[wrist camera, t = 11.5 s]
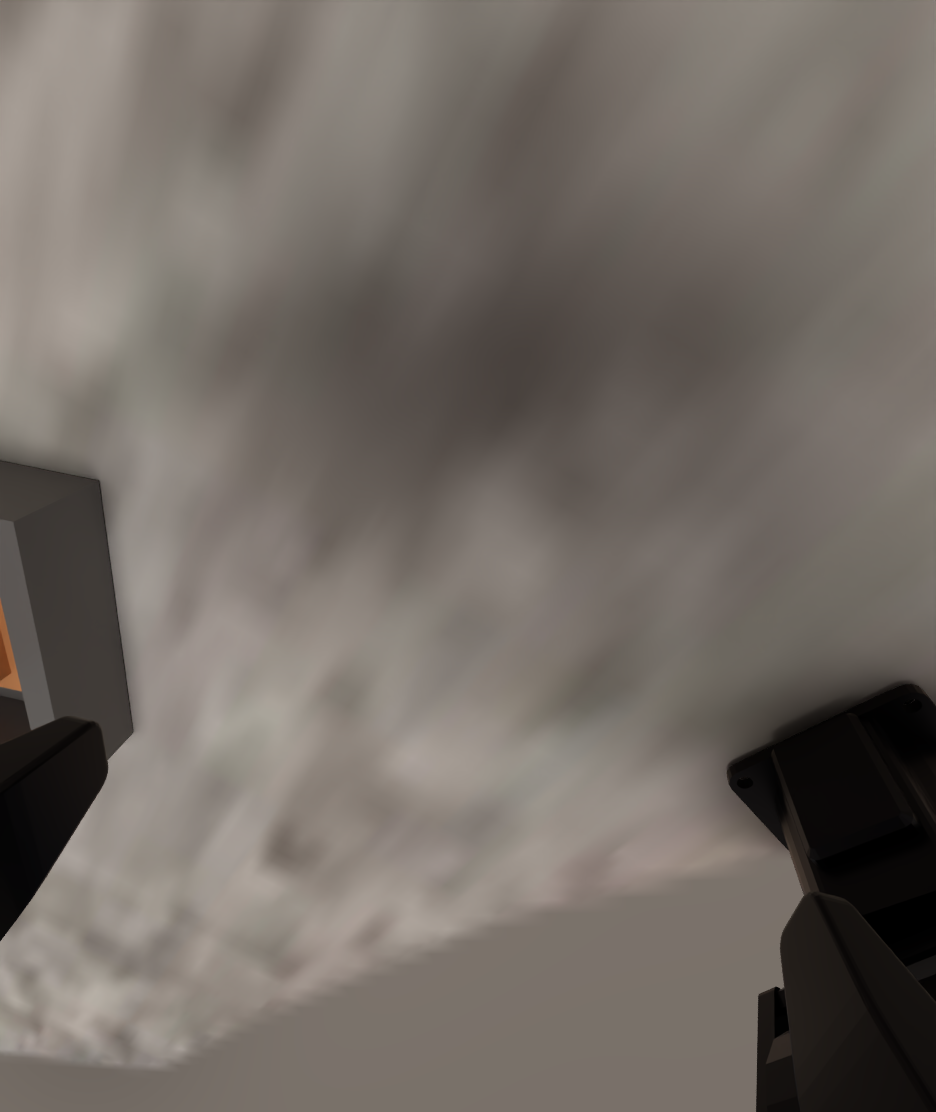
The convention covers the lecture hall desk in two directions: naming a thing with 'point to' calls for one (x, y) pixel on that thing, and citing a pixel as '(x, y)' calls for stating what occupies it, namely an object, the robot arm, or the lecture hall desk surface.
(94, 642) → the gray square tray
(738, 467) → the lecture hall desk surface
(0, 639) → the orange post with base
